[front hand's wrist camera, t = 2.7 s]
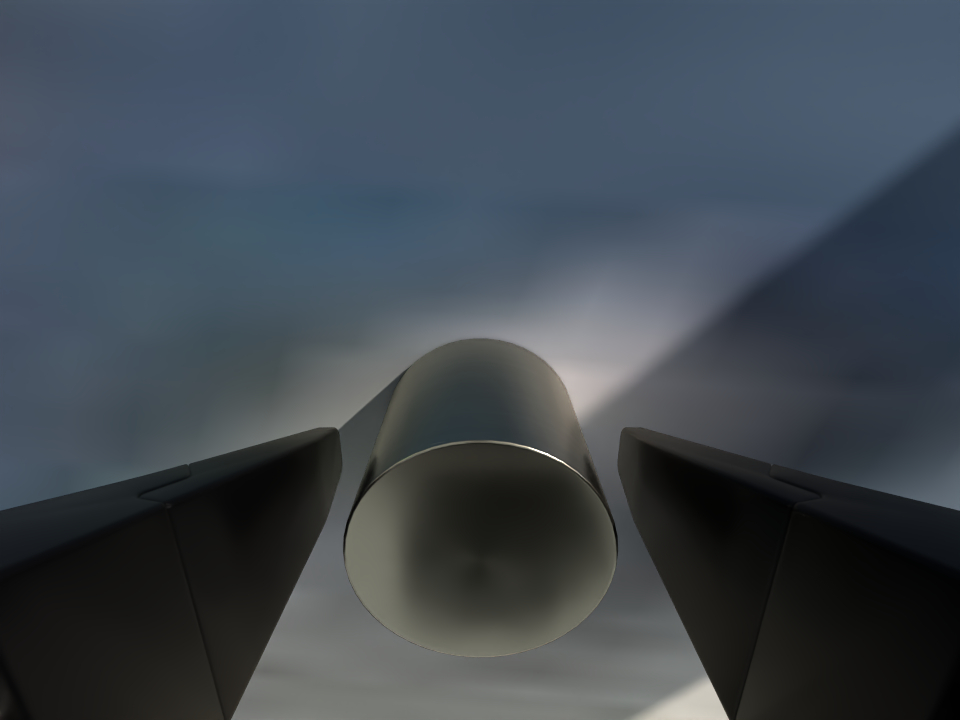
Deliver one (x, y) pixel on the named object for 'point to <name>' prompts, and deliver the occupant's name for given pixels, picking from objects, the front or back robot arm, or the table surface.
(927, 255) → the table surface
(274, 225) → the table surface
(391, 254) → the table surface
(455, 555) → the tin
